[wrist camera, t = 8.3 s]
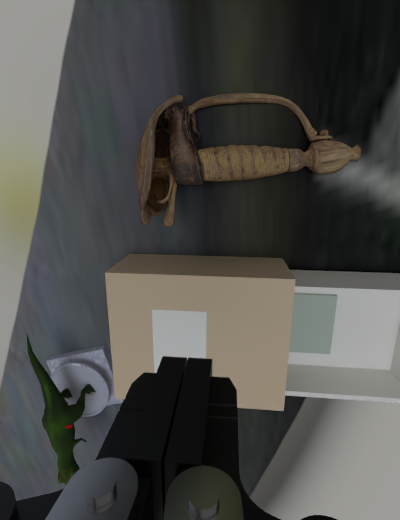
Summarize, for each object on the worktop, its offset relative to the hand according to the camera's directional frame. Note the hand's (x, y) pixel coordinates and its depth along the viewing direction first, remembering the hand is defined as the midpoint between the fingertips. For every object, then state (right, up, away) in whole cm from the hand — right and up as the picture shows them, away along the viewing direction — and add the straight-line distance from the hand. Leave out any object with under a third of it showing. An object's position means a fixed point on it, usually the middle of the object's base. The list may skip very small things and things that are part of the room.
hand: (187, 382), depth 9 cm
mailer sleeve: (+1, -3, +33) cm, 33 cm away
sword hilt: (+6, +16, +28) cm, 33 cm away
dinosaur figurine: (-17, -12, +38) cm, 43 cm away
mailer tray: (+16, -4, +31) cm, 35 cm away
